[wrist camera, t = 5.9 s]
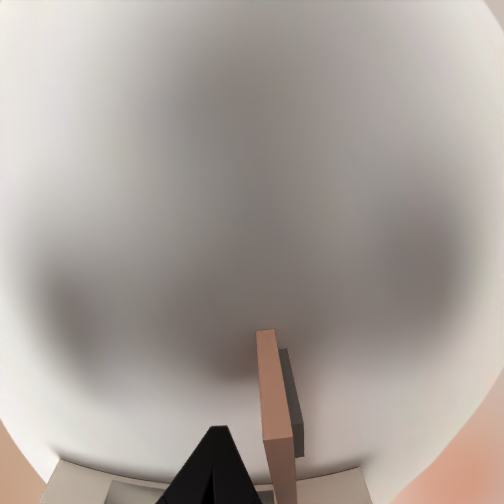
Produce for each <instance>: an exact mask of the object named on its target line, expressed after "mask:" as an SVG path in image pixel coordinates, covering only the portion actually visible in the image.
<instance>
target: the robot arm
mask: <svg viewBox="0 0 504 504" xmlns="http://www.w3.org/2000/svg"><path fill="white" fill-rule="evenodd" d="M155 504H263V503H262V501H261V499H260V498H259V495H258V493H257V491H256V489H255V487H254V485H253V483H252V481H251V479H250V477H249V474H248V472H247V470H246V468H245V466H244V463H243V461H242V459H241V457H240V454H239V452H238V450H237V447H236V445H235V443H234V440H233V438H232V435H231V433H230V431H229V428H228V426H226V425H222V426H211V427H210V428H209V429H208V431H207V432H206V434H205V435H204V437H203V438H202V440H201V441H200V443H199V444H198V446H197V447H196V449H195V450H194V451H193V453H192V454H191V456H190V457H189V459H188V460H187V461H186V463H185V464H184V466H183V467H182V468H181V470H180V471H179V473H178V474H177V475H176V477H175V478H174V479H173V481H172V482H171V483H170V485H169V486H168V487H167V489H166V490H165V491H164V493H163V496H161V497H160V498H159V499H158V500H157V502H156V503H155Z"/></svg>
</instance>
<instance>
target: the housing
mask: <svg viewBox="0 0 504 504" xmlns="http://www.w3.org/2000/svg"><path fill="white" fill-rule="evenodd" d="M169 485H170V484H166V483H158V482H150V481H144V480H138V479H132V478H127V477H122V476H117V475H113V474H108V473H104V472H100V471H97V470H93V469H89V468H86V467H82V466H79V465H76V464H73V463H70V462H67V461H64V460H61V459H60V460H59V462H58V464H57V466H56V468H55V469H54V471H53V473H52V475H51V477H50V479H49V481H48V483H47V485H46V487H45V490H44V491H43V494H42V496H41V498H40V500H39V501H40V502H41V503H42V504H155V503H156V502H157V500H158V499H159V498H160V497H161V496H163V493H164V491H165V490H166V489H167V487H168V486H169ZM254 487H255V489H256V491H257V493H258V495H259V498H260V499H261V501H262V503H263V504H277V500H276V496H275V492H274V487H273V484H266V485H254ZM296 488H297V504H372V501H371V498H370V495H369V492H368V489H367V486H366V483H365V480H364V477H363V474H362V471H361V468H360V467H358V468H354V469H351V470H347V471H343V472H339V473H335V474H330V475H326V476H321V477H316V478H311V479H305V480H299V481H296Z"/></svg>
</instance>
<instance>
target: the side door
mask: <svg viewBox="0 0 504 504" xmlns="http://www.w3.org/2000/svg"><path fill="white" fill-rule="evenodd" d="M256 339H257V354H258V370H259V386H260V402H261V417H262V433H263V443H264V447H265V452H266V456H267V461H268V465H269V470H270V474H271V479H272V483H273V487H274V492H275V496H276V500H277V504H297V488H296V471H295V458H298V457H304V425H303V419H302V414H301V410H300V405H299V401H298V396H297V392H296V387H295V383H294V378H293V374H292V369H291V365H290V361H289V356H288V352H287V348H284V349H278V347H277V342H276V336H275V331H274V329H269V330H262V331H256Z"/></svg>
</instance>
